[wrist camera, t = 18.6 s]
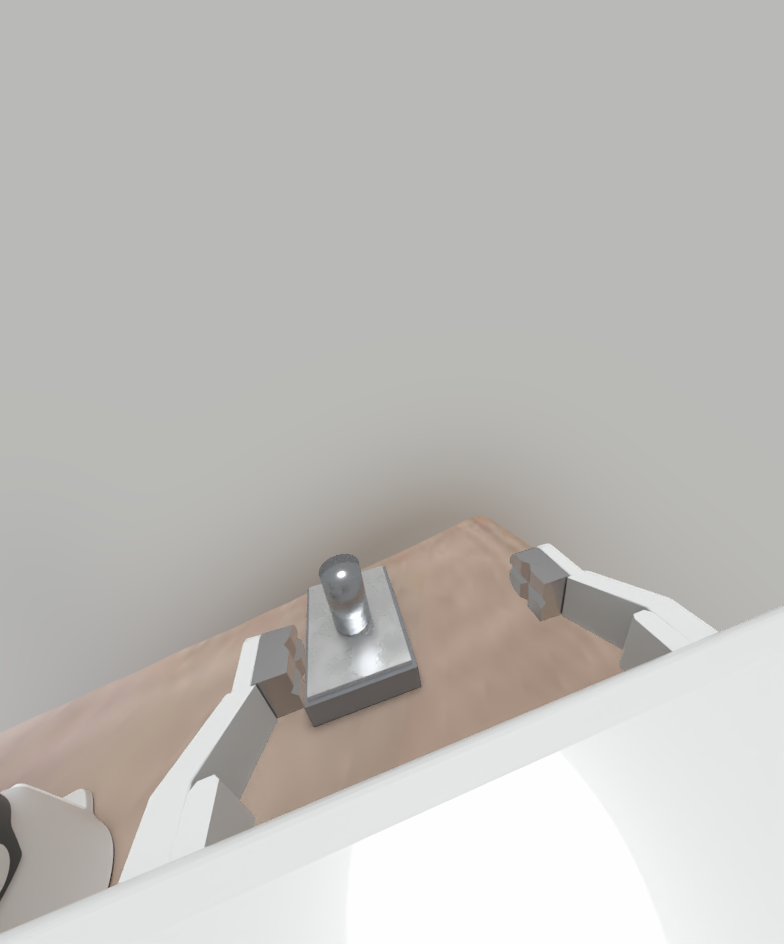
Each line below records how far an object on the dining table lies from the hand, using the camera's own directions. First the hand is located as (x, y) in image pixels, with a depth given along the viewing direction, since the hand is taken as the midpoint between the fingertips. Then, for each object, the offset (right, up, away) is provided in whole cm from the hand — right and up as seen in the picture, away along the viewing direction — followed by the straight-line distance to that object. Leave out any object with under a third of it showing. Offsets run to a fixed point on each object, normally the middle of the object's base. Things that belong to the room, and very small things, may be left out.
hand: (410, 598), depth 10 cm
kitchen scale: (-5, -20, +31) cm, 37 cm away
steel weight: (-6, -15, +29) cm, 33 cm away
